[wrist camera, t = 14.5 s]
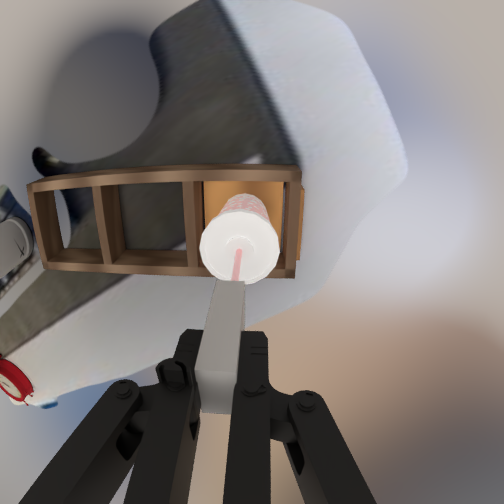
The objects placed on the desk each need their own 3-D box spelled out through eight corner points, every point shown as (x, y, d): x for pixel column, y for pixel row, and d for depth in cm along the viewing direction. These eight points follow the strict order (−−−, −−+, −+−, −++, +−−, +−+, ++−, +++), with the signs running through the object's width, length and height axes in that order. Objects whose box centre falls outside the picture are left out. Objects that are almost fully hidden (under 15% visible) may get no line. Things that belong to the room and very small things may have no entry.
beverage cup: (243, 253, 33) (233, 338, 20) (202, 213, 31) (165, 279, 18) (286, 217, 31) (305, 286, 18) (245, 173, 29) (235, 215, 17)
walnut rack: (60, 255, 34) (43, 268, 30) (46, 176, 30) (26, 184, 26) (294, 260, 33) (298, 278, 30) (300, 165, 29) (306, 171, 25)
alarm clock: (27, 410, 47) (-25, 379, 40) (33, 389, 52) (-17, 359, 45) (33, 397, 44) (-25, 361, 37) (40, 374, 49) (-15, 339, 42)
